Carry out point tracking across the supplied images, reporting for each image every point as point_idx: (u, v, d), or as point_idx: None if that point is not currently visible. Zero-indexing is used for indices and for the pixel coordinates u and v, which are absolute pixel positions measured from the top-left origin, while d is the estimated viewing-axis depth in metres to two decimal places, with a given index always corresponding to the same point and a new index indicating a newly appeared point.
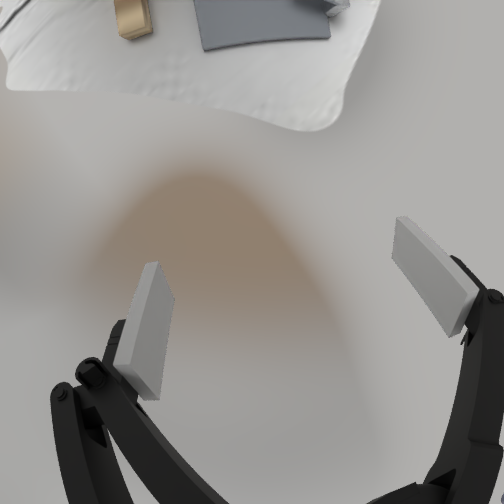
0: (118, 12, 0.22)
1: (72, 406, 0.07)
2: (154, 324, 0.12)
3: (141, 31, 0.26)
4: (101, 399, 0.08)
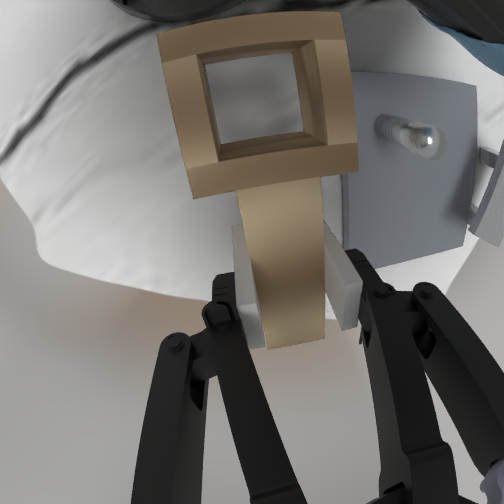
0: (266, 305, 0.15)
1: (185, 361, 0.09)
2: None
3: None
4: (220, 342, 0.09)
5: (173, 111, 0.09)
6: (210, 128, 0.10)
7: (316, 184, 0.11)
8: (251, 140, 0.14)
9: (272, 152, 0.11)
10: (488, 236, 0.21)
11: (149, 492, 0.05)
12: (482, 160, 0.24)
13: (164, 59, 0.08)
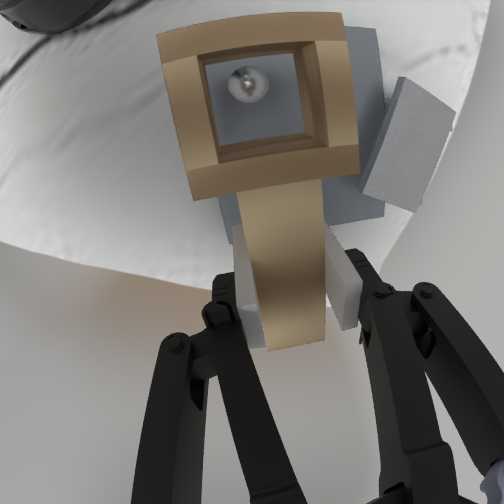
0: (266, 307, 0.15)
1: (185, 361, 0.09)
2: None
3: None
4: (220, 342, 0.09)
5: (173, 112, 0.09)
6: (210, 130, 0.10)
7: (317, 186, 0.11)
8: (251, 141, 0.13)
9: (273, 154, 0.11)
10: (390, 197, 0.21)
11: (149, 491, 0.05)
12: None
13: (164, 60, 0.08)
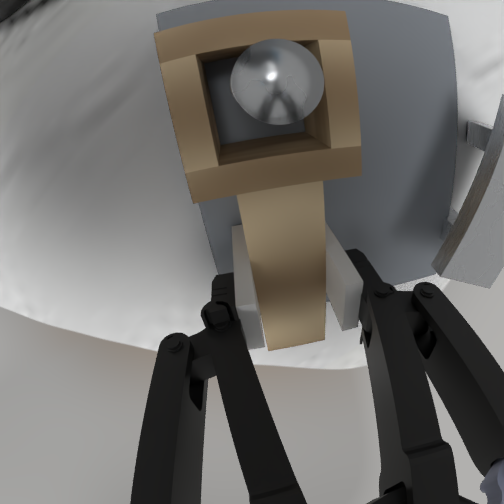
0: (266, 308, 0.15)
1: (184, 362, 0.09)
2: None
3: None
4: (219, 342, 0.09)
5: (172, 114, 0.09)
6: (210, 131, 0.10)
7: (318, 188, 0.11)
8: (252, 141, 0.13)
9: (274, 156, 0.10)
10: (471, 275, 0.12)
11: (149, 491, 0.05)
12: (470, 140, 0.15)
13: (162, 59, 0.08)
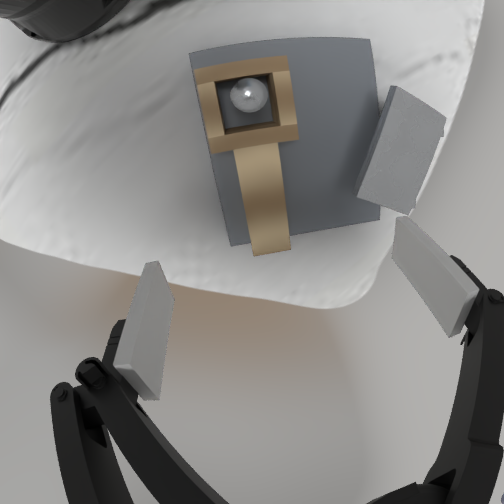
0: (250, 220, 0.25)
1: (72, 406, 0.07)
2: (154, 324, 0.12)
3: None
4: (101, 399, 0.08)
5: (202, 109, 0.19)
6: (220, 118, 0.20)
7: (275, 146, 0.21)
8: (242, 126, 0.23)
9: (251, 130, 0.21)
10: (384, 200, 0.22)
11: None
12: None
13: (198, 83, 0.18)
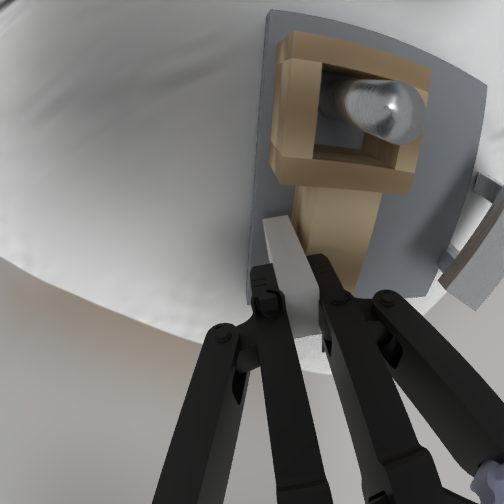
0: None
1: (231, 354, 0.09)
2: None
3: None
4: (266, 330, 0.10)
5: (289, 103, 0.10)
6: (314, 128, 0.11)
7: (377, 198, 0.13)
8: (321, 146, 0.15)
9: (354, 163, 0.12)
10: (466, 295, 0.15)
11: (176, 484, 0.05)
12: (477, 189, 0.19)
13: (294, 55, 0.09)
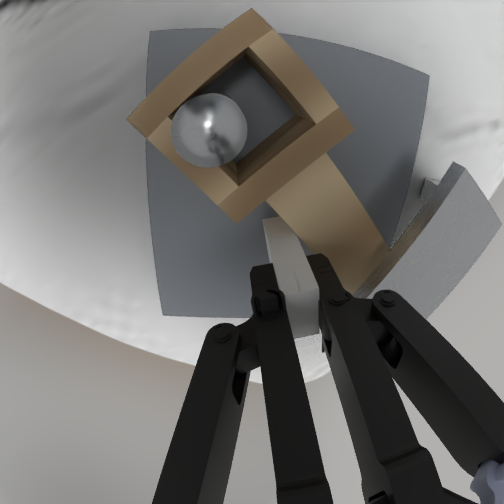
0: (340, 274, 0.16)
1: (231, 354, 0.09)
2: None
3: None
4: (266, 330, 0.10)
5: (180, 168, 0.12)
6: None
7: (326, 160, 0.12)
8: (257, 147, 0.15)
9: (275, 155, 0.12)
10: None
11: (177, 484, 0.05)
12: (423, 197, 0.19)
13: (146, 134, 0.11)
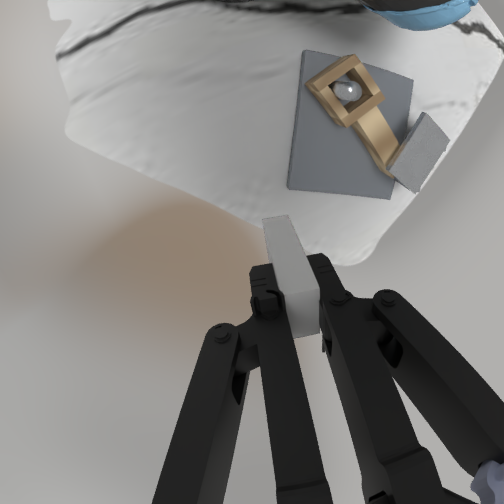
0: (382, 156, 0.33)
1: (230, 354, 0.09)
2: None
3: None
4: (265, 330, 0.10)
5: (330, 104, 0.30)
6: (342, 105, 0.30)
7: (376, 108, 0.30)
8: (347, 104, 0.33)
9: (360, 104, 0.30)
10: (403, 178, 0.33)
11: (176, 484, 0.05)
12: None
13: (319, 90, 0.29)
